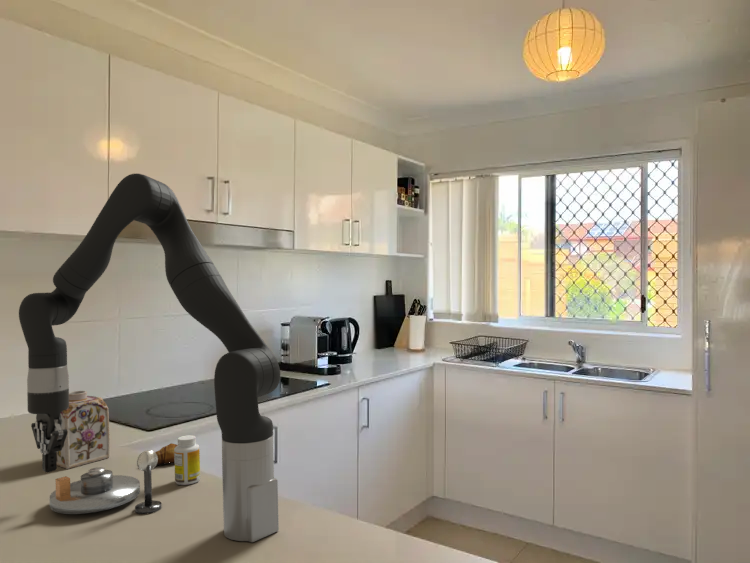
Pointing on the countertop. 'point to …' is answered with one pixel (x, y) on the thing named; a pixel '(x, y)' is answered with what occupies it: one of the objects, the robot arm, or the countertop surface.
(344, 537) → the countertop surface
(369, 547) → the countertop surface
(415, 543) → the countertop surface
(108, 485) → the cover
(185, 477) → the supplement bottle
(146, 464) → the dial stand
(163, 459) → the croissant
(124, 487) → the turntable
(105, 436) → the decorative jar
